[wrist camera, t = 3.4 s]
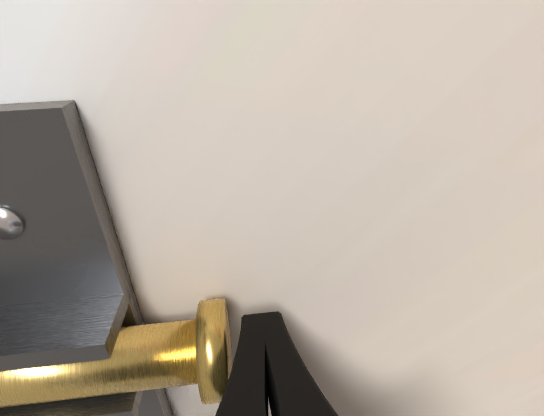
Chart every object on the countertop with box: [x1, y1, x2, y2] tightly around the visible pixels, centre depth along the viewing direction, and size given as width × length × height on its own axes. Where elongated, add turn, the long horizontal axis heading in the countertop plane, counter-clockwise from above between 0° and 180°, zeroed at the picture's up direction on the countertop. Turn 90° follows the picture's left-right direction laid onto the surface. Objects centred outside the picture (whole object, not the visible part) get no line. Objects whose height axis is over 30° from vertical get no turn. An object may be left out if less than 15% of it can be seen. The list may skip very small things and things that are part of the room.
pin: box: [0, 298, 232, 408], centre depth 11 cm, size 3×13×3 cm, turn 92°
